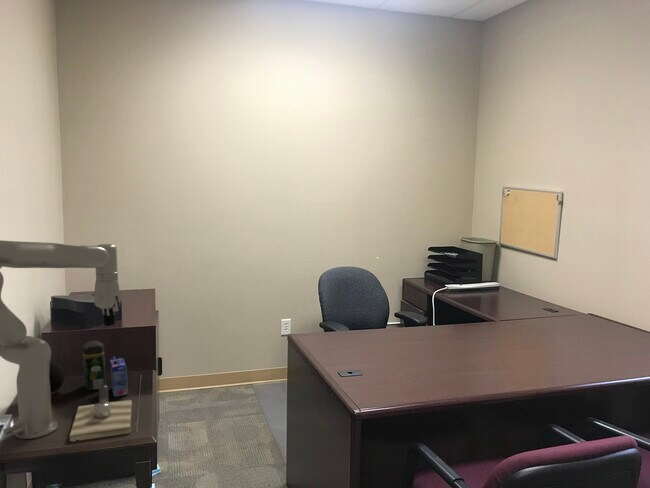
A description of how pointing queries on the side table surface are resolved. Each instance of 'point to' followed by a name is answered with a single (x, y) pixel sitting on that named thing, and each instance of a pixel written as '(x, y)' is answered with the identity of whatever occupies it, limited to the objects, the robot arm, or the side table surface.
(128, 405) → the birch stand
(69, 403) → the side table surface
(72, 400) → the side table surface
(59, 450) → the side table surface
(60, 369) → the black half-round shape
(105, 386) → the crank dial
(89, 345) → the coffee jar
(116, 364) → the ink cartridge box
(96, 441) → the side table surface
